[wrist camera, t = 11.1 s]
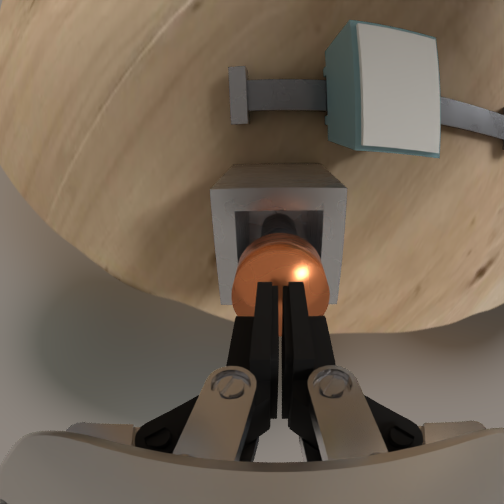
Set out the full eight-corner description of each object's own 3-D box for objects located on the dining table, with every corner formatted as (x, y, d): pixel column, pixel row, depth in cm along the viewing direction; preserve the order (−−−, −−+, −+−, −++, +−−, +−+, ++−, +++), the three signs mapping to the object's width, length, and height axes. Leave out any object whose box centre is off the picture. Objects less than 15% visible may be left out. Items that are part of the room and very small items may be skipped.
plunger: (310, 199, 18) (333, 253, 11) (308, 257, 20) (324, 335, 13) (246, 199, 18) (227, 254, 11) (249, 257, 20) (234, 335, 13)
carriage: (382, 61, 18) (439, 36, 10) (384, 143, 21) (443, 159, 12) (322, 55, 18) (351, 17, 10) (325, 139, 21) (357, 150, 13)
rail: (510, 110, 18) (522, 111, 16) (509, 151, 19) (521, 154, 18) (232, 71, 20) (228, 67, 18) (234, 124, 22) (230, 124, 20)
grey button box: (320, 163, 22) (347, 188, 14) (318, 248, 26) (336, 309, 17) (232, 164, 23) (209, 189, 15) (237, 249, 26) (221, 309, 18)
